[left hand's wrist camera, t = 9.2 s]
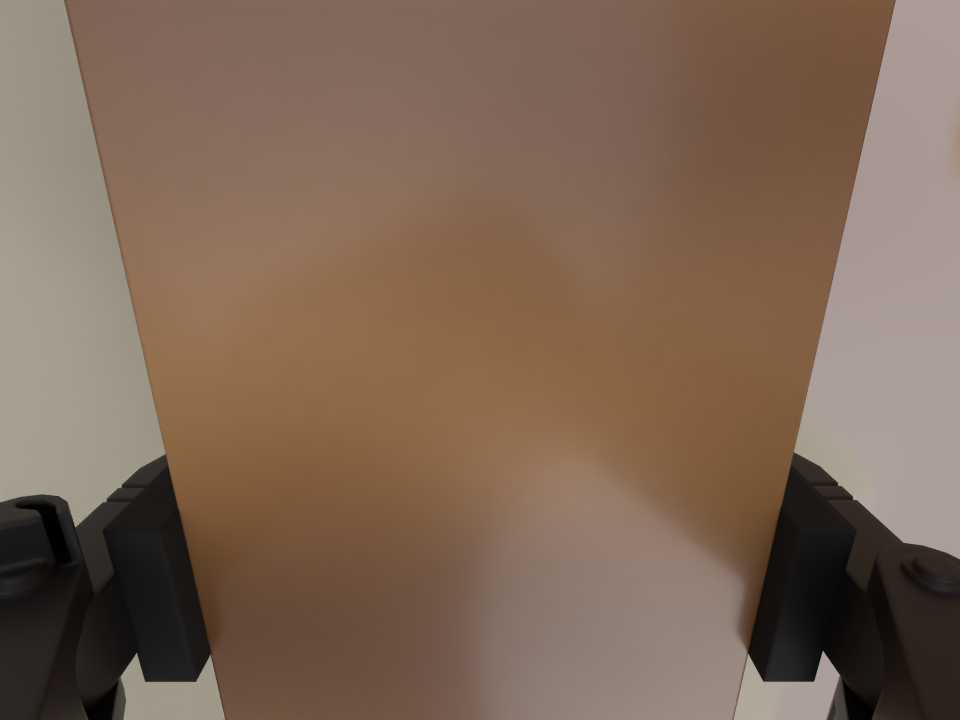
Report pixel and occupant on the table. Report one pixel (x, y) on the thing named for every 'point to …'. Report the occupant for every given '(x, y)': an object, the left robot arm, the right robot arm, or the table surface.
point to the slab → (479, 330)
